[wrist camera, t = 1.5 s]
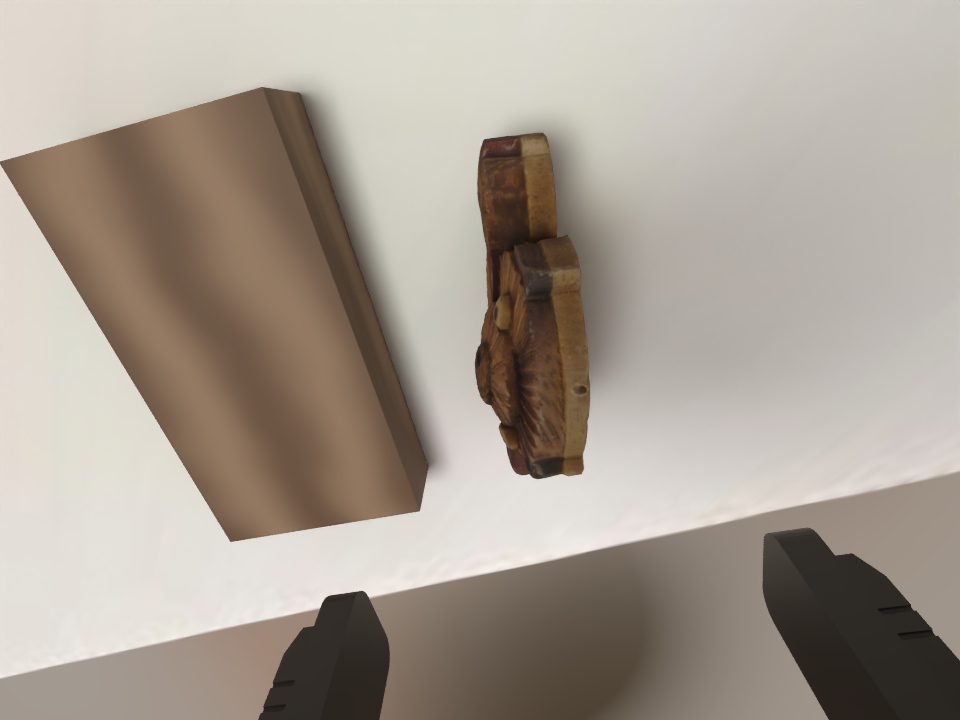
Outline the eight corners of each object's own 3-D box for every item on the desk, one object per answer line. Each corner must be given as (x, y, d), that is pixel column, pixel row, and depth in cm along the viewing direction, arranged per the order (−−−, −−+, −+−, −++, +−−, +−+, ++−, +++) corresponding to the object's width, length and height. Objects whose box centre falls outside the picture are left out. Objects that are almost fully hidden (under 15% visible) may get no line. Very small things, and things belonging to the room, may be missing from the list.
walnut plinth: (299, 93, 23) (262, 87, 19) (428, 467, 32) (419, 511, 28) (73, 156, 24) (-1, 161, 20) (259, 496, 33) (230, 541, 30)
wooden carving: (445, 145, 23) (414, 158, 14) (540, 125, 23) (569, 126, 14) (503, 428, 30) (506, 556, 21) (576, 418, 30) (611, 544, 21)
